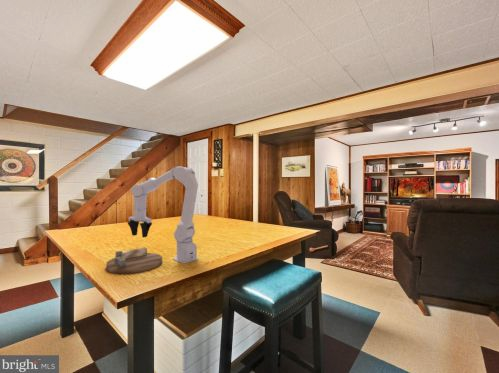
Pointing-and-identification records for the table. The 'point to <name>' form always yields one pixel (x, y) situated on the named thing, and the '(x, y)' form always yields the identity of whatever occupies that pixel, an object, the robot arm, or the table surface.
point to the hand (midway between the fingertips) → (139, 236)
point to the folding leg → (131, 253)
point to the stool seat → (134, 264)
